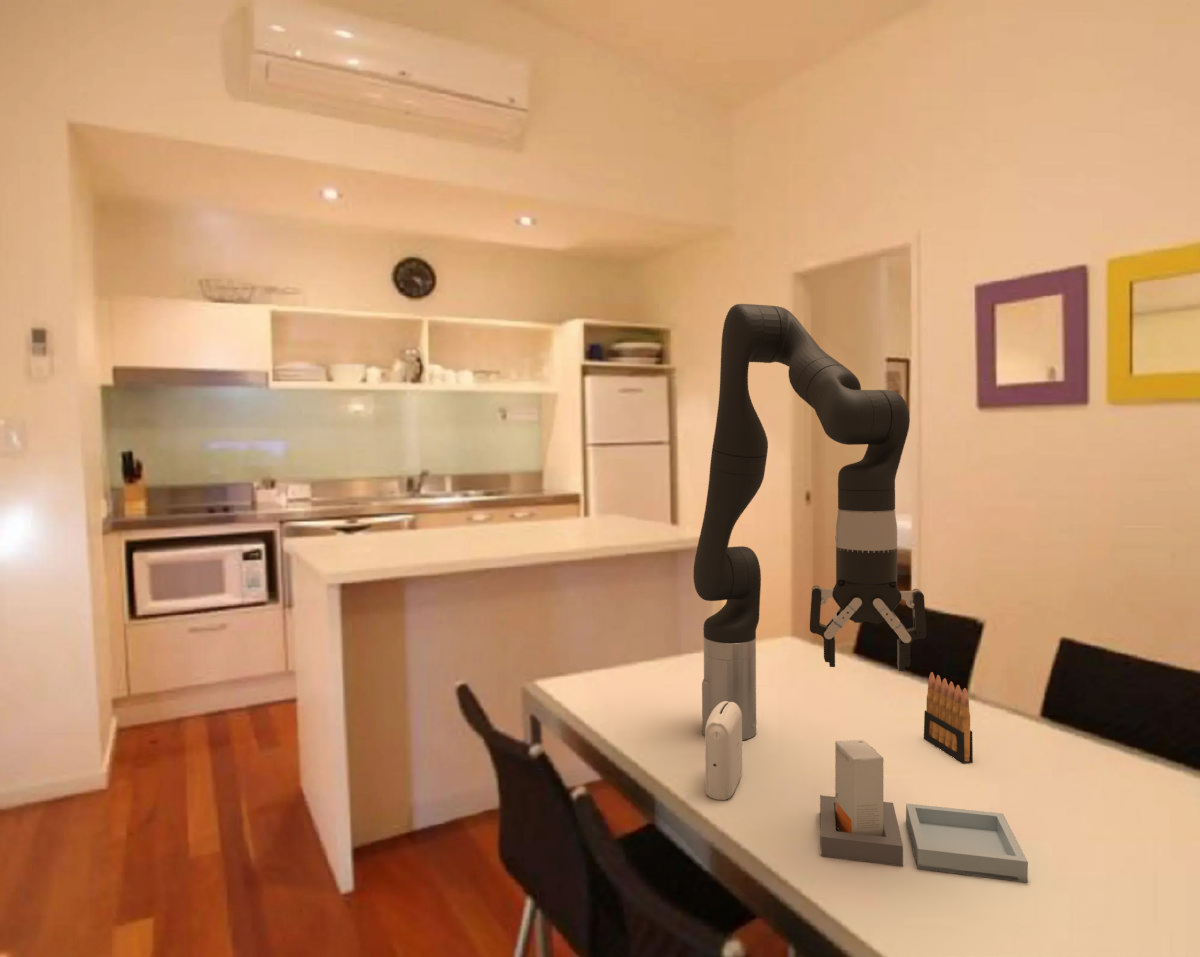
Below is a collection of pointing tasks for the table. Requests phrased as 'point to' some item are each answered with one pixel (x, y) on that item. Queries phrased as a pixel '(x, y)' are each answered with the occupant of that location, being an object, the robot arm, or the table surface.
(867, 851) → the holder
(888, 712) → the table surface
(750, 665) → the robot arm
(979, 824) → the parts tray
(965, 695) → the ammunition clip
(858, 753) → the skincare box
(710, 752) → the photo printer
